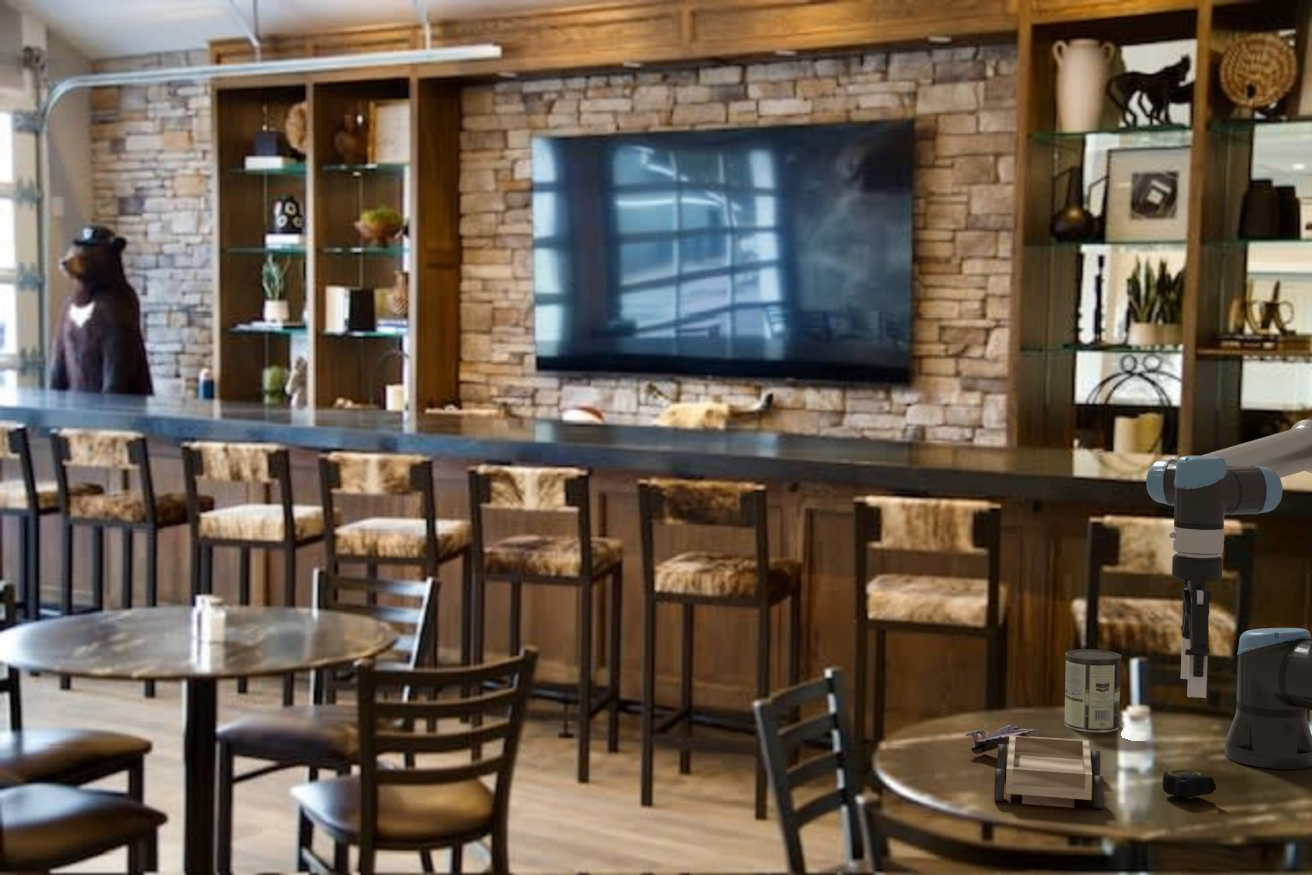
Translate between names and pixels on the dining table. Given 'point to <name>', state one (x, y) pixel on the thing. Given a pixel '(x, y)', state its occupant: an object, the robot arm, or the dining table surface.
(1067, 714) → the coffee can
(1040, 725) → the dining table surface
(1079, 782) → the cart
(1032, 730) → the toy race car
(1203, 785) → the tape measure
